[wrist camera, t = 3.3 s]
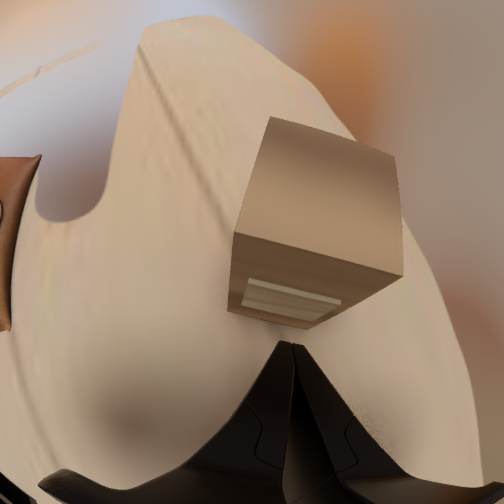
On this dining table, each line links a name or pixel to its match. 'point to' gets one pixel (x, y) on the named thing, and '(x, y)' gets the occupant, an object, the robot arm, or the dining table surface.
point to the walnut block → (314, 227)
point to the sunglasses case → (11, 220)
